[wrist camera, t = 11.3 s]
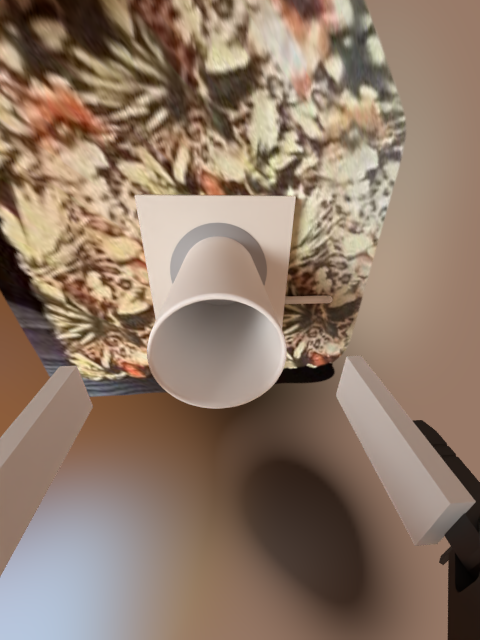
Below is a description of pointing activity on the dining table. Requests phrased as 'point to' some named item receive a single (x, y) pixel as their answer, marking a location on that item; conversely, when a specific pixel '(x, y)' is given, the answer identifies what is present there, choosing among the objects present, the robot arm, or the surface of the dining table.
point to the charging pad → (219, 220)
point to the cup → (217, 330)
